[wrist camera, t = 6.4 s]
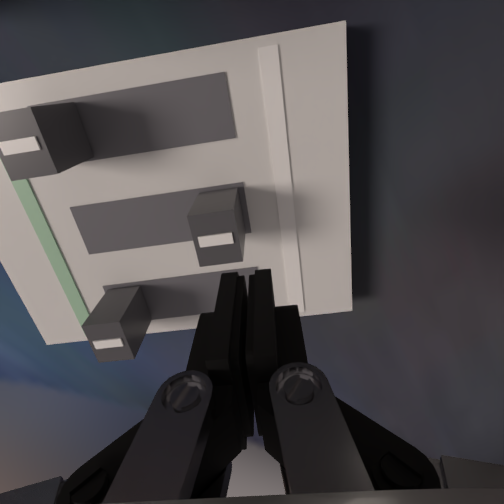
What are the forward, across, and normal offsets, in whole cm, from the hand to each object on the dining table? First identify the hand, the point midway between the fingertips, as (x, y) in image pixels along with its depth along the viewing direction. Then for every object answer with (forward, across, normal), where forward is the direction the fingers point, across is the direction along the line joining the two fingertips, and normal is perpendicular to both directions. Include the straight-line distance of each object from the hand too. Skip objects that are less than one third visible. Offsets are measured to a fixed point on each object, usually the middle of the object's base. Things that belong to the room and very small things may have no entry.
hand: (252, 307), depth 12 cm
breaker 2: (+10, +10, +7) cm, 16 cm away
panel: (+13, +6, 0) cm, 14 cm away
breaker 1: (+11, +10, -5) cm, 16 cm away
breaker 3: (+11, +2, 0) cm, 11 cm away
